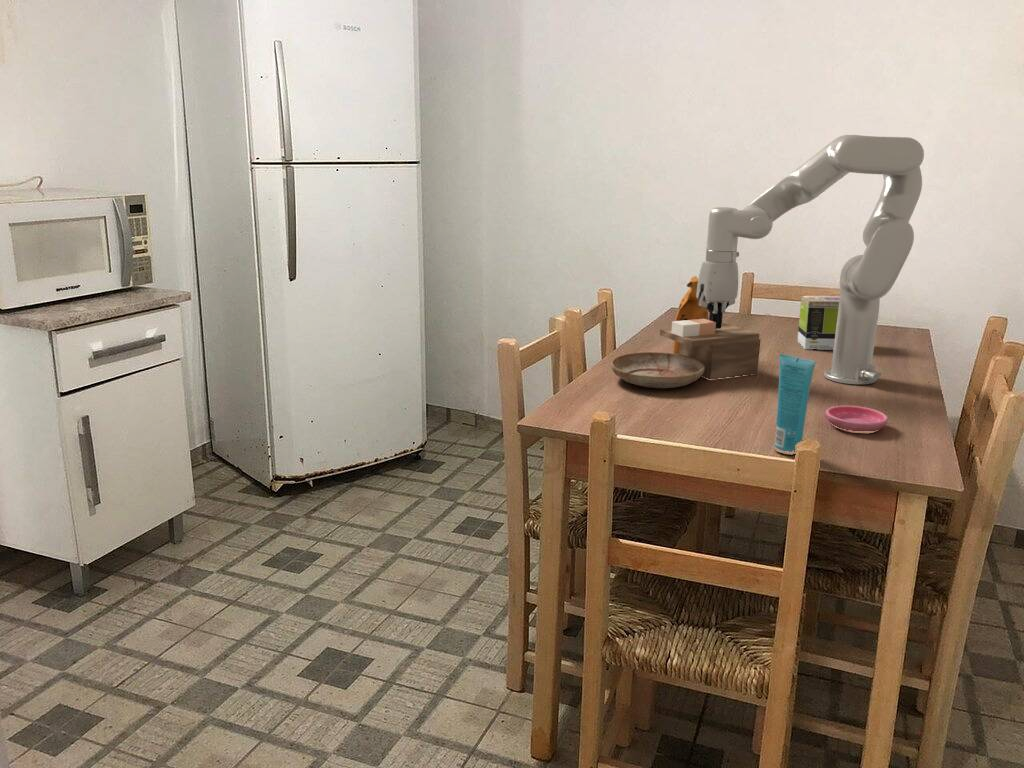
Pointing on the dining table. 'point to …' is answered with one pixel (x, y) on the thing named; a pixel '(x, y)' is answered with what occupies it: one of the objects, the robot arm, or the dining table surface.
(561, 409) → the dining table surface
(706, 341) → the wooden box
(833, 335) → the tea box
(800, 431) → the tube
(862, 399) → the dining table surface
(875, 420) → the saucer
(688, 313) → the coffee package
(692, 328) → the white square block
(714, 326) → the peach clay cube
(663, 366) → the ceramic bowl
